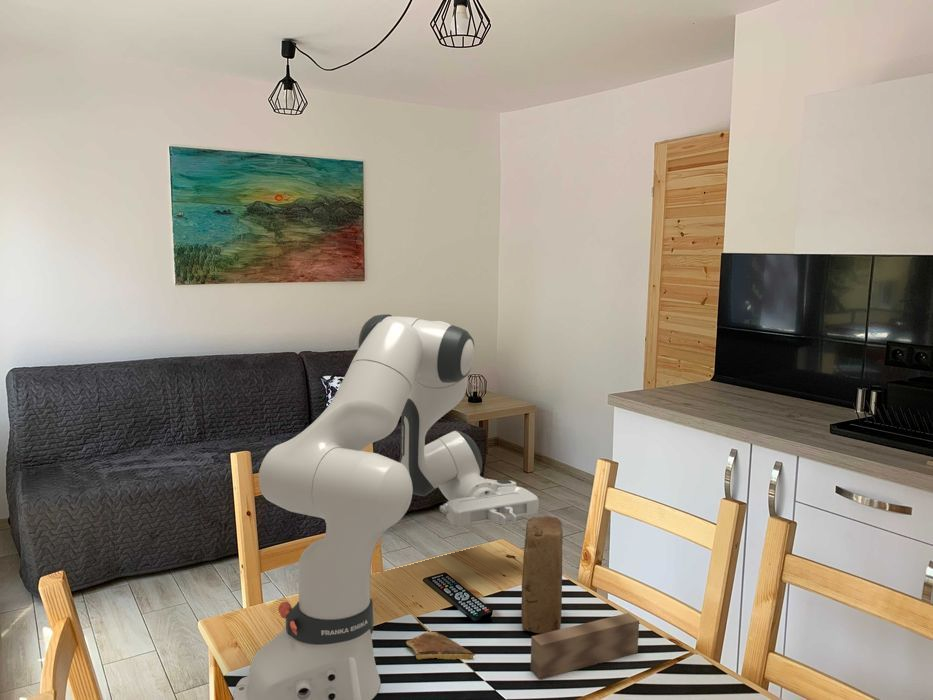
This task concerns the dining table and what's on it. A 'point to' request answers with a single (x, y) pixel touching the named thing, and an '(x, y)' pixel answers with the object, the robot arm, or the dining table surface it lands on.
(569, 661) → the board
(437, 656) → the brown flat angular piece
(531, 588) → the weathered terracotta carving
